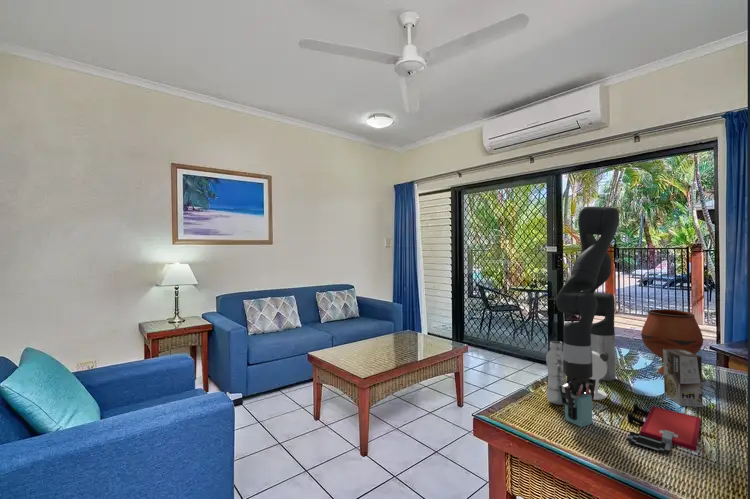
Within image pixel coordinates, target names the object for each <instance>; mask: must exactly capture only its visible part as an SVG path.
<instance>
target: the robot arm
mask: <svg viewBox="0 0 750 499" xmlns="http://www.w3.org/2000/svg"><path fill="white" fill-rule="evenodd" d="M577 219H578V220H577V222H578V223H577V225H578V233H579V239H580V240H579V241H580V247H581V253H580V254H579V255H578V257H577V258H576V259H575V261H574V263H573V266H572V270H571V272H570V273H571V274H570V276H569V278H568V279H567V280H566V282H565V284H563V286H562V287H561V289H560V290H559V292H558V294H557V296H556V298H555V305H556V309H557V310H558V311H559V312H561V314H566V315H574V316H580V318H579V320H578V321H569V322H566V323H564V325H563V332H562V333H563V344H562V347H563V349H562V351H563V372H564V374H565V375H566V384H565V385H560V386H559V388H560V393H561V399H562V404H565V405H567V406H568V417H569V418H570V419H572V420H577V407H576V406H577V400H578V399H579V398H580V395H581V394H586V395H592V401H594V400H593V398H594V391H595V383H596V380H595V379H592V378H591V377H592V376H593V370H592V351H595V352H597V353H599V354H601V352H603V351H604V352H606V353H607V354H608V356H609V357H608V360H607V361H606V363H607V373H606V375H605V376H604V377H603V378H602V380H601V381H607V382H611V381H615V380H616V375H617V374H616V339H615V336H616V334H615V311H616V309H615V307H616V306H615V305H616V300H615V297H614V295H613V294H612V293H610V292H609V293H608V292H596V290H597V289H599V288H600V287H601V286H602V285H604V283H606V282H607V281H608V280H609V279H610V276H611V274H612V259H611V256H610V253H608V251H609V248H610V247H611V244H612V242H613V240H614V237H615V235H616V232H617V231H618V227H619V222H620V213H619V210H618V208H616V207H611V206H584V207H582V208H581V209H580V210H579V213H578V217H577ZM595 236H599V238H598V239H596V237H595ZM595 317H604V318H603V319H602V320H601V321H598V322H594V319H595ZM593 322H594V323H593ZM589 390H590V392H589ZM571 393H573V394H575V395H576V396H574V395H571ZM572 398H573V399H574V400H573V402H572ZM566 399H567V400H566ZM565 405H564V406H565Z"/></svg>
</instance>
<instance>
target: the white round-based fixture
mask: <svg viewBox="0 0 750 499" xmlns="http://www.w3.org/2000/svg"><path fill="white" fill-rule="evenodd" d="M608 357H609V356H608V354H607V353H606V352H604V351H603V352H601V354H599V353H597V352H595V351H592V370H593V376H592V377H591V378H592V379H595V380H596V383H595V391H594V398H593V400H592V401H594V400H595V401H596V400H597V401H599V400H604V399H606V398H608V395H607V393H606V392H605V391H603V390H601V389H599V384H600V383H601V382H602V381H603V380H602V378H603V377H604V376H605V375H606V373H607V363H606V361H607V360H608ZM589 392H590V390H589Z"/></svg>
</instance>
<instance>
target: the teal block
mask: <svg viewBox="0 0 750 499" xmlns="http://www.w3.org/2000/svg"><path fill="white" fill-rule="evenodd" d="M571 395H574V396H576V395H575V394H573V393H571ZM566 400H567V399H566ZM573 400H574V399H573V398H572V402H573ZM576 407H577V420H572V419H570V418H569V417H568V406H567V405H564V420H565V421H567V422H568V423H572V424H574V425H576V426H579V427H580V428H583V427H585V426H588V425H591V424H593V400H592V395H586V394H581V395H580V398H579V399H578V400H577V406H576Z"/></svg>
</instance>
